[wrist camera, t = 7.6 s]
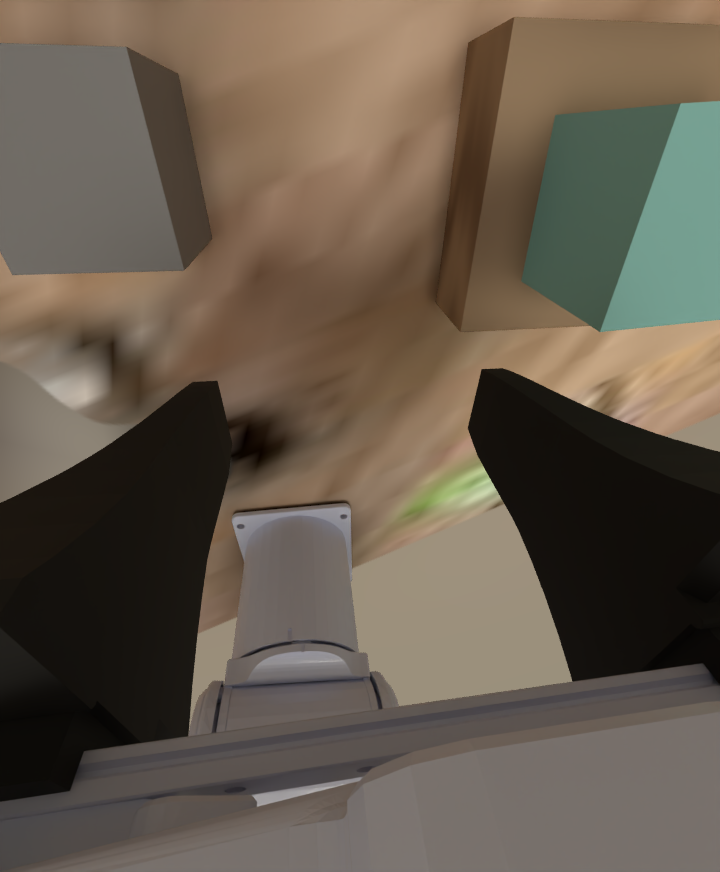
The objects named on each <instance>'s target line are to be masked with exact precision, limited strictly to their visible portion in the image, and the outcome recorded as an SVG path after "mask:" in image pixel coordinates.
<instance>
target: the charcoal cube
mask: <svg viewBox="0 0 720 872" xmlns="http://www.w3.org/2000/svg"><path fill="white" fill-rule="evenodd" d="M211 239H212V235H211V230H210V225H209V220H208V215H207V211H206V206H205V201H204V196H203V191H202V187H201V182H200V177H199V172H198V167H197V162H196V158H195V153H194V148H193V143H192V138H191V134H190V129H189V124H188V119H187V114H186V109H185V105H184V100H183V95H182V90H181V85H180V80H179V76H178V74H177V73H175V72H173V71H171V70H169V69H167V68H165V67H164V66H162V65H160V64H158V63H156V62H154V61H152V60H150V59H148V58H146V57H144V56H143V55H141V54H139V53H137V52H135V51H133V50H131V49H129V48H127V47H112V46H80V45H47V44H14V43H0V252H1V254H2V256H3V258H4V260H5V262H6V264H7V266H8V267H9V269H10V271H11V273H12V275H31V274H70V273H110V272H149V271H184V270H185V269H186V268H187V267H188V266H189V265H190V263H191V262H192V261H193V260H194V259H195V258H196V257H197V255H198V254H199V253H200V252H201V251H202V250H203V249H204V247H205V246H206V245H207V244H208V243H209V242H210V241H211Z"/></svg>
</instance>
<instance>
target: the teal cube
mask: <svg viewBox="0 0 720 872" xmlns="http://www.w3.org/2000/svg"><path fill="white" fill-rule="evenodd" d="M521 282H523V283H525V284H526V285H528V286H529V287H531V288H532V289H534V290H536V291H537V292H539V293H540V294H542V295H543V296H545V297H546V298H548V299H550V300H551V301H553V302H554V303H556V304H557V305H559V306H560V307H562V308H564V309H565V310H567V311H568V312H570V313H571V314H573V315H574V316H576V317H578V318H579V319H581V320H582V321H584V322H585V323H587V324H588V325H590V326H592V327H593V328H595V329H596V330H598V331H599V332H604V331H614V330H624V329H634V328H644V327H653V326H663V325H673V324H683V323H693V322H702V321H712V320H720V101H712V102H695V103H679V104H668V105H657V106H646V107H636V108H625V109H614V110H603V111H592V112H581V113H570V114H559V115H555V119H554V124H553V129H552V133H551V138H550V143H549V148H548V153H547V158H546V163H545V168H544V173H543V178H542V182H541V187H540V192H539V197H538V202H537V207H536V212H535V217H534V222H533V227H532V231H531V236H530V241H529V246H528V251H527V256H526V261H525V266H524V271H523V276H522V280H521Z"/></svg>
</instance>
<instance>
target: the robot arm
mask: <svg viewBox="0 0 720 872" xmlns="http://www.w3.org/2000/svg"><path fill="white" fill-rule="evenodd" d="M468 430H469V433H470V436H471V439H472V442H473V444H474V447H475V450H476V452H477V455H478V457H479V459H480V461H481V463H482V464H483V466H484V468H485V470H486V472H487V474H488V475H489V477H490V479H491V481H492V483H493V484H494V486H495V488H496V490H497V491H498V493H499V495H500V497H501V499H502V500H503V502H504V504H505V506H506V507H507V509H508V511H509V513H510V514H511V516H512V518H513V520H514V522H515V524H516V526H517V528H518V530H519V532H520V535H521V537H522V539H523V542H524V544H525V546H526V549H527V551H528V553H529V556H530V558H531V560H532V563H533V566H534V568H535V571H536V574H537V576H538V579H539V581H540V584H541V587H542V589H543V592H544V594H545V597H546V600H547V603H548V606H549V609H550V612H551V615H552V618H553V620H554V623H555V626H556V629H557V632H558V635H559V638H560V641H561V645H562V648H563V651H564V654H565V657H566V661H567V664H568V668H569V671H570V674H571V677H572V681H573V682H567V683H560V684H553V685H546V686H540V687H532V688H525V689H519V690H511V691H504V692H497V693H490V694H483V695H476V696H469V697H462V698H455V699H448V700H440V701H433V702H426V703H420V704H412V705H406V706H399V705H398V702H397V698H396V696H395V693H394V691H393V689H392V688H391V686H390V685H389V684H388V683H387V682H386V680H385V678H384V677H383V676H382V675H381V673H379V672H376V671H375V672H370V671H369V663H368V656H367V653H359V651H358V642H357V634H356V625H355V616H354V608H353V600H352V591H351V581H352V552H351V509H350V505H348V504H346V503H339V504H328V505H317V506H306V507H295V508H284V509H273V510H263V511H252V512H241V513H236V514H234V515H233V516H232V524H233V527H234V531H235V534H236V537H237V540H238V544H239V547H240V550H241V553H242V556H243V560H244V569H243V577H242V585H241V592H240V600H239V608H238V616H237V623H236V631H235V639H234V647H233V654H232V659H229V660H228V662H227V668H226V675H225V684H224V683H223V681H212V682H211V683H210V684H209V687H208V688H207V689H206V690H205V691H204V692H203V693H202V694H201V695H200V696H199V698H198V700H197V703H196V706H195V709H194V713H193V717H192V721H191V725H190V730H189V719H190V707H191V695H192V682H193V673H194V662H195V653H196V643H197V633H198V625H199V617H200V609H201V601H202V593H203V586H204V579H205V572H206V565H207V559H208V554H209V549H210V545H211V541H212V537H213V533H214V529H215V525H216V522H217V518H218V514H219V510H220V506H221V502H222V499H223V495H224V491H225V487H226V483H227V479H228V475H229V467H230V458H231V448H232V441H231V437H230V432H229V428H228V424H227V419H226V415H225V411H224V407H223V402H222V398H221V394H220V390H219V385H218V381H206V382H193V383H191V384H189V385H188V386H187V387H185V388H184V389H183V390H181V391H180V392H179V393H177V394H176V395H175V396H174V397H172V398H171V399H170V400H169V401H167V402H166V403H165V404H164V405H162V406H161V407H160V408H158V409H157V410H156V411H155V412H153V413H152V414H151V415H149V416H148V417H147V418H146V419H144V420H143V421H142V422H140V423H139V424H137V425H136V426H135V427H133V428H132V429H130V430H129V431H128V432H126V433H125V434H123V435H122V436H121V437H119V438H118V439H116V440H115V441H114V442H112V443H111V444H109V445H108V446H106V447H105V448H103V449H101V450H100V451H98V452H97V453H95V454H93V455H92V456H90V457H88V458H87V459H85V460H83V461H81V462H80V463H78V464H76V465H75V466H73V467H71V468H69V469H68V470H66V471H64V472H62V473H60V474H59V475H56V476H54V477H53V478H50V479H48V480H46V481H44V482H42V483H40V484H39V485H36V486H34V487H33V488H30V489H28V490H26V491H24V492H22V493H20V494H19V495H16V496H14V497H12V498H10V499H8V500H6V501H4V502H1V503H0V872H720V452H718V451H714V450H710V449H706V448H703V447H699V446H696V445H692V444H689V443H685V442H682V441H678V440H674V439H671V438H668V437H665V436H662V435H659V434H656V433H653V432H650V431H647V430H644V429H641V428H639V427H636V426H633V425H630V424H627V423H625V422H622V421H619V420H617V419H614V418H612V417H609V416H607V415H605V414H602V413H600V412H598V411H595V410H593V409H591V408H588V407H586V406H584V405H582V404H580V403H577V402H575V401H573V400H571V399H569V398H567V397H565V396H562V395H560V394H558V393H556V392H554V391H552V390H550V389H548V388H546V387H544V386H542V385H540V384H538V383H536V382H534V381H532V380H530V379H527V378H525V377H523V376H521V375H519V374H516V373H514V372H511V371H509V370H506V369H503V368H500V369H482V370H481V374H480V379H479V383H478V387H477V391H476V396H475V400H474V404H473V408H472V413H471V417H470V421H469V426H468ZM342 514H345V515H342ZM188 733H189V735H188Z"/></svg>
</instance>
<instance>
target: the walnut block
mask: <svg viewBox="0 0 720 872" xmlns="http://www.w3.org/2000/svg"><path fill="white" fill-rule="evenodd" d="M712 101H720V25H710V24H684V23H658V22H631V21H605V20H579V19H553V18H526V17H514V18H512V19H510V20H508V21H506V22H505V23H503V24H501V25H499V26H498V27H496V28H494V29H492V30H490V31H489V32H487V33H485V34H483V35H481V36H480V37H478V38H476V39H474V40H472V41H471V42H469V43H468V50H467V58H466V66H465V74H464V82H463V90H462V98H461V106H460V114H459V122H458V130H457V138H456V146H455V154H454V162H453V170H452V179H451V187H450V195H449V203H448V211H447V219H446V227H445V235H444V243H443V251H442V259H441V267H440V275H439V283H438V291H437V299H436V303H437V305H438V306H439V307H440V308H441V309H442V311H443V312H444V313H445V314H446V315H447V317H448V318H449V319H450V320H451V321H452V323H453V324H454V325H455V326H456V327H457V329H458V330H459V331H460V332H474V331H495V330H515V329H536V328H556V327H577V326H590V325H588V324H587V323H585V322H584V321H582V320H581V319H579V318H578V317H576V316H574V315H573V314H571V313H570V312H568V311H567V310H565V309H564V308H562V307H560V306H559V305H557V304H556V303H554V302H553V301H551V300H550V299H548V298H546V297H545V296H543V295H542V294H540V293H539V292H537V291H536V290H534V289H532V288H531V287H529V286H528V285H526V284H525V283H523V282H521V280H522V276H523V271H524V266H525V261H526V256H527V251H528V246H529V241H530V236H531V231H532V227H533V222H534V217H535V212H536V207H537V202H538V197H539V192H540V187H541V182H542V178H543V173H544V168H545V163H546V158H547V153H548V148H549V143H550V138H551V133H552V129H553V124H554V119H555V115H559V114H570V113H581V112H592V111H603V110H614V109H625V108H636V107H646V106H657V105H668V104H679V103H695V102H712Z"/></svg>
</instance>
